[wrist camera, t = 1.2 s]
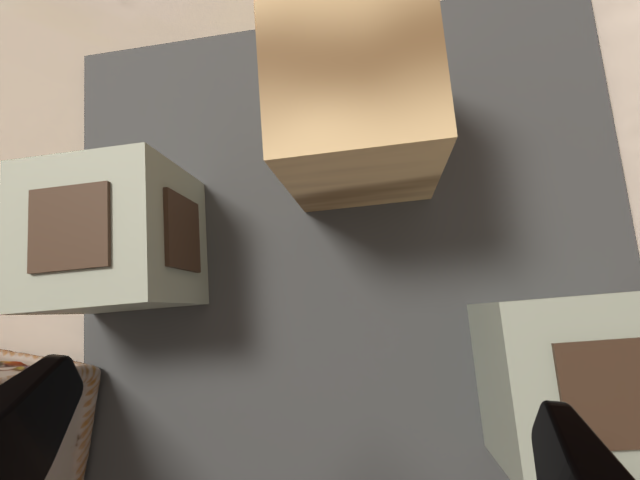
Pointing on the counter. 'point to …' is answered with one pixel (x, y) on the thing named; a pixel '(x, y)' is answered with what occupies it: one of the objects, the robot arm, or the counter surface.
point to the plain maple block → (354, 99)
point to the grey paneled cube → (558, 371)
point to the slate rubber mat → (354, 261)
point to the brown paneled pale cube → (100, 233)
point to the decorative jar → (75, 446)
